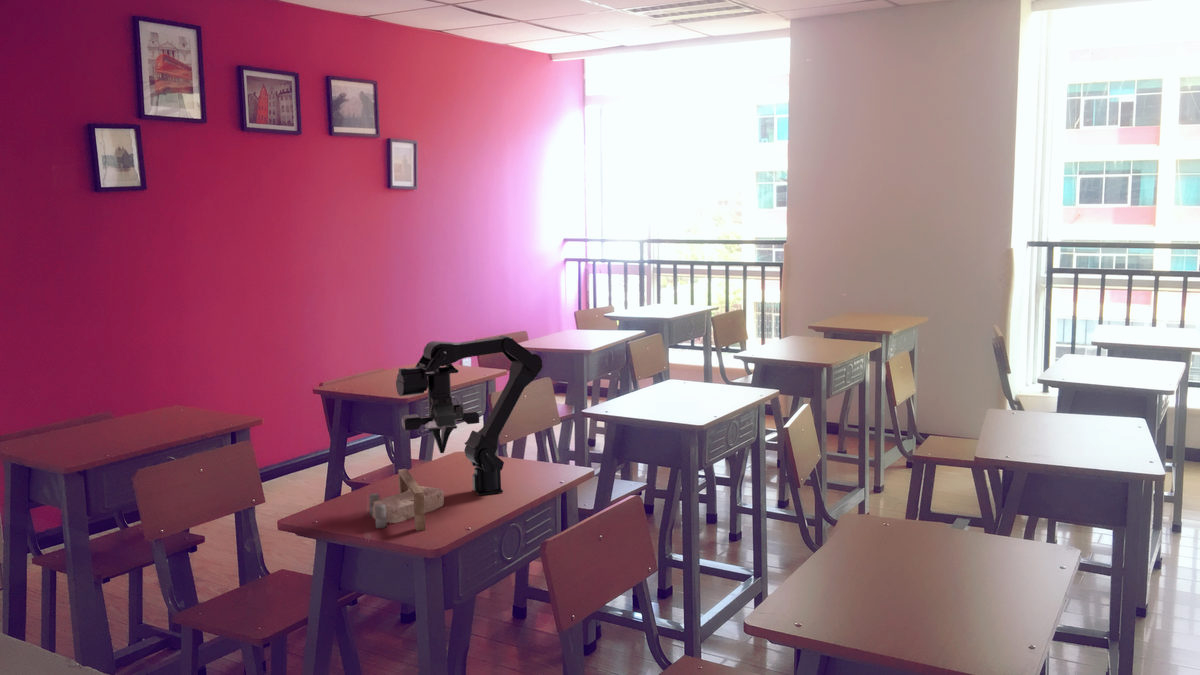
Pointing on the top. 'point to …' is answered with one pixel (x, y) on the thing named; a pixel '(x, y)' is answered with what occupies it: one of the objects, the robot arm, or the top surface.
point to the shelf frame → (404, 484)
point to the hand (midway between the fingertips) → (441, 452)
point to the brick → (409, 504)
